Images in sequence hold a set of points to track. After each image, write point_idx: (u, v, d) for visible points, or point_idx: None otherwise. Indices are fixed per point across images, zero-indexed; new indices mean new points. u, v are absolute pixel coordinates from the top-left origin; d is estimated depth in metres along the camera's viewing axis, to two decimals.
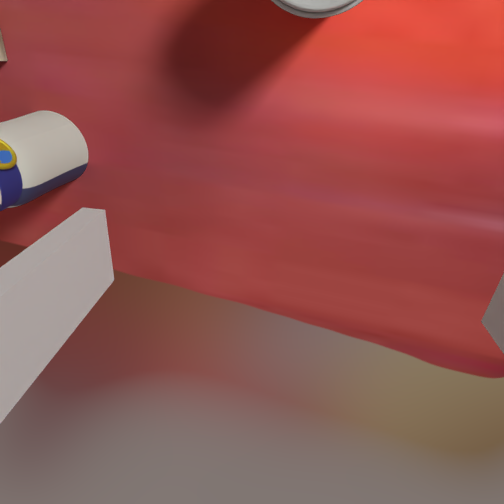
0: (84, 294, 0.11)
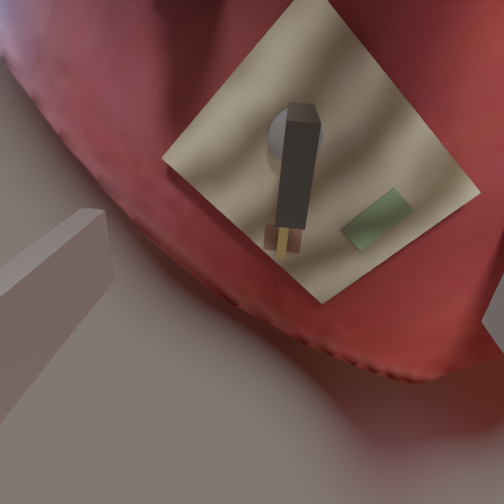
0: (84, 294, 0.11)
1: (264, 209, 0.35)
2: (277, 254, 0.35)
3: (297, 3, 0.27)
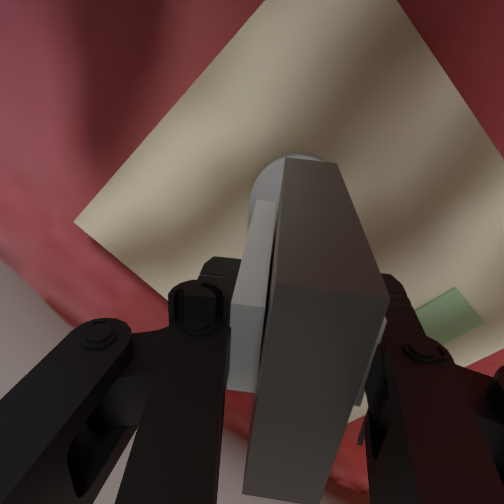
0: None
1: None
2: None
3: None
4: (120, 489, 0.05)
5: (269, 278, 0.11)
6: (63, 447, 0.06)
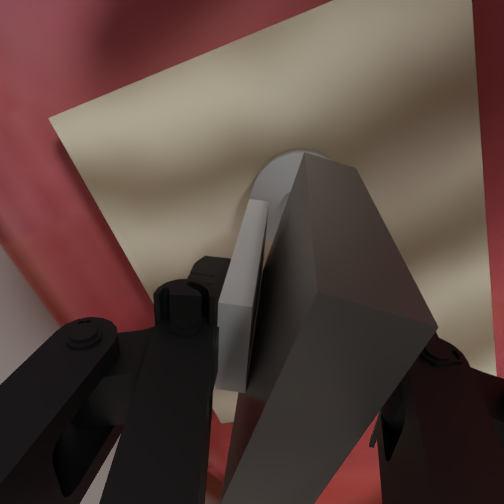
0: None
1: None
2: None
3: None
4: (105, 490, 0.05)
5: (272, 277, 0.11)
6: (48, 446, 0.06)
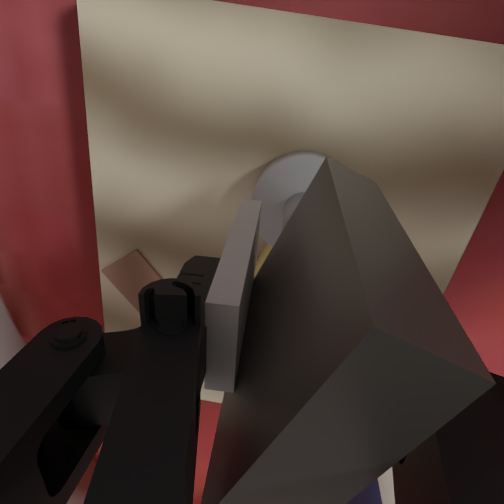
0: (253, 273, 0.13)
1: (158, 232, 0.19)
2: None
3: None
4: (89, 491, 0.05)
5: (277, 284, 0.10)
6: (32, 447, 0.06)
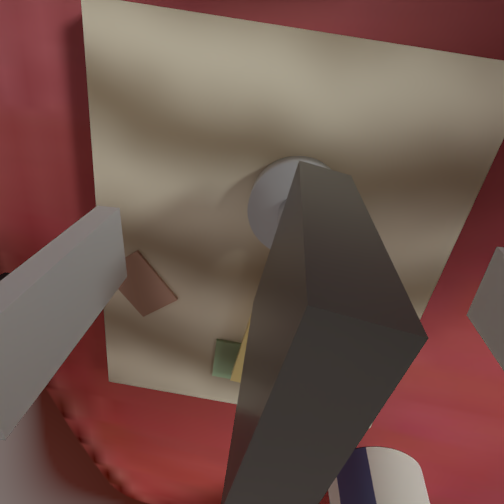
0: (100, 290, 0.11)
1: (158, 233, 0.19)
2: (233, 376, 0.22)
3: (491, 68, 0.14)
4: None
5: (269, 286, 0.11)
6: None
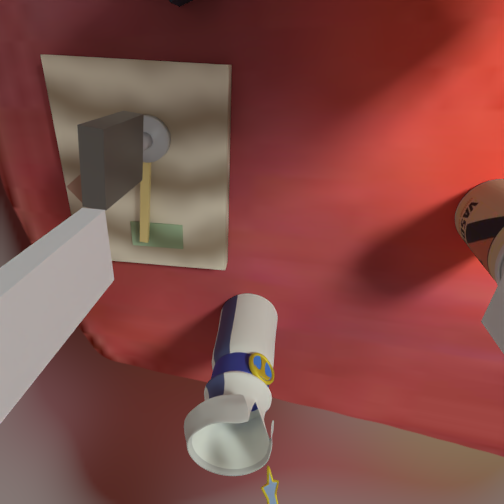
0: (84, 294, 0.11)
1: None
2: (140, 238, 0.42)
3: (211, 68, 0.34)
4: None
5: None
6: None
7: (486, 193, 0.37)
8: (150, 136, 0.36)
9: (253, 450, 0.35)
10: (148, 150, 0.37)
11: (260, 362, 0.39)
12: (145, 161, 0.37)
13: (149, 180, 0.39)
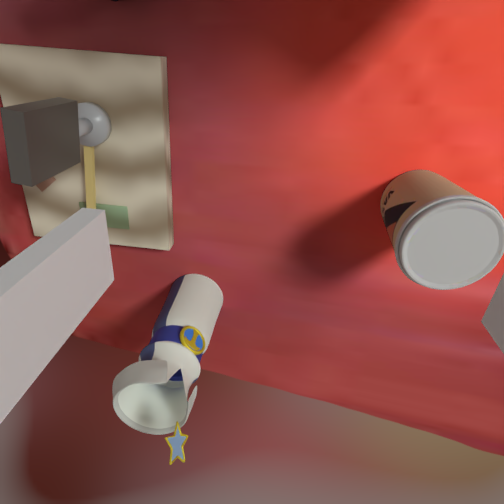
0: (84, 294, 0.11)
1: None
2: None
3: (144, 59, 0.37)
4: None
5: None
6: None
7: (402, 182, 0.40)
8: (91, 121, 0.39)
9: (178, 412, 0.38)
10: (89, 135, 0.40)
11: (192, 334, 0.42)
12: (87, 145, 0.40)
13: (92, 163, 0.41)
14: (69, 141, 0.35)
